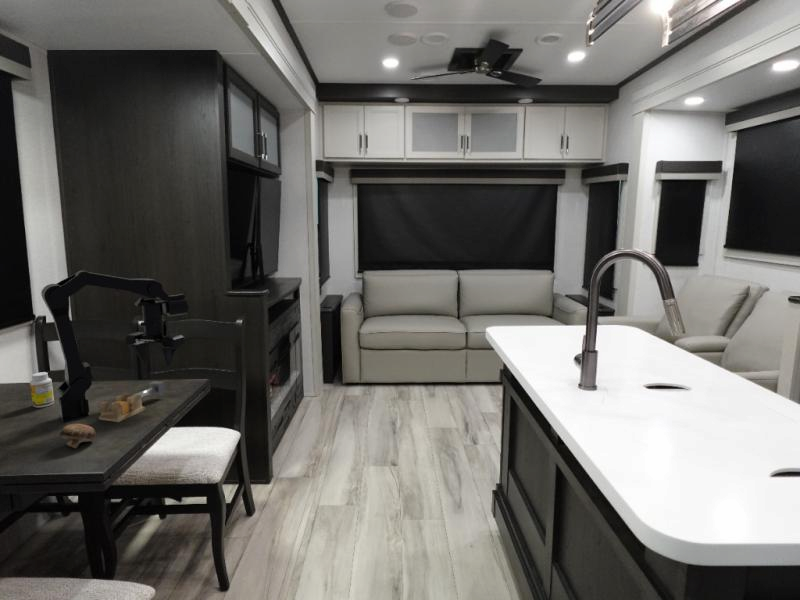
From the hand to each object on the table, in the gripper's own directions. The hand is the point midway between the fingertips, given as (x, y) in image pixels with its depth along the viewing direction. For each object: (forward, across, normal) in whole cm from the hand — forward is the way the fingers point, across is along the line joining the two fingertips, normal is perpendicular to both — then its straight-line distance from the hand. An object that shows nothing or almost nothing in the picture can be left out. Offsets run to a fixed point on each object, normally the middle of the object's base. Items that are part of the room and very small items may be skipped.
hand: (157, 365), depth 163 cm
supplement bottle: (+11, +31, +16) cm, 36 cm away
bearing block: (+11, 0, +15) cm, 19 cm away
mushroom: (+11, -6, +35) cm, 37 cm away
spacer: (+10, 0, +16) cm, 18 cm away
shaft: (+10, 0, +5) cm, 11 cm away
